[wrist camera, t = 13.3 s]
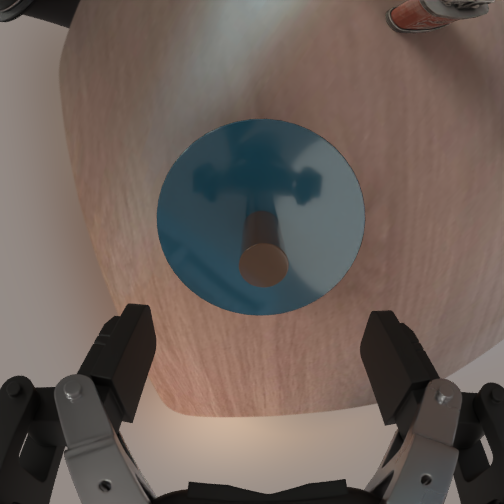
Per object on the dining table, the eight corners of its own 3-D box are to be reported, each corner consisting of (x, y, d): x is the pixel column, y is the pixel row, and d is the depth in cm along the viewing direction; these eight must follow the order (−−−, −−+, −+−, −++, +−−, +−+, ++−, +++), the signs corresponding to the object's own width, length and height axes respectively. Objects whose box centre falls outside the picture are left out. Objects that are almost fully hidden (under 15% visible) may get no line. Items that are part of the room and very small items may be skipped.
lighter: (437, 2, 17) (494, -22, 8) (451, 29, 18) (512, 13, 9) (379, 8, 19) (430, -28, 10) (394, 37, 20) (452, 12, 11)
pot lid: (133, 251, 21) (98, 298, 15) (225, 79, 16) (211, 61, 10) (286, 331, 24) (293, 389, 18) (395, 195, 19) (441, 227, 13)
